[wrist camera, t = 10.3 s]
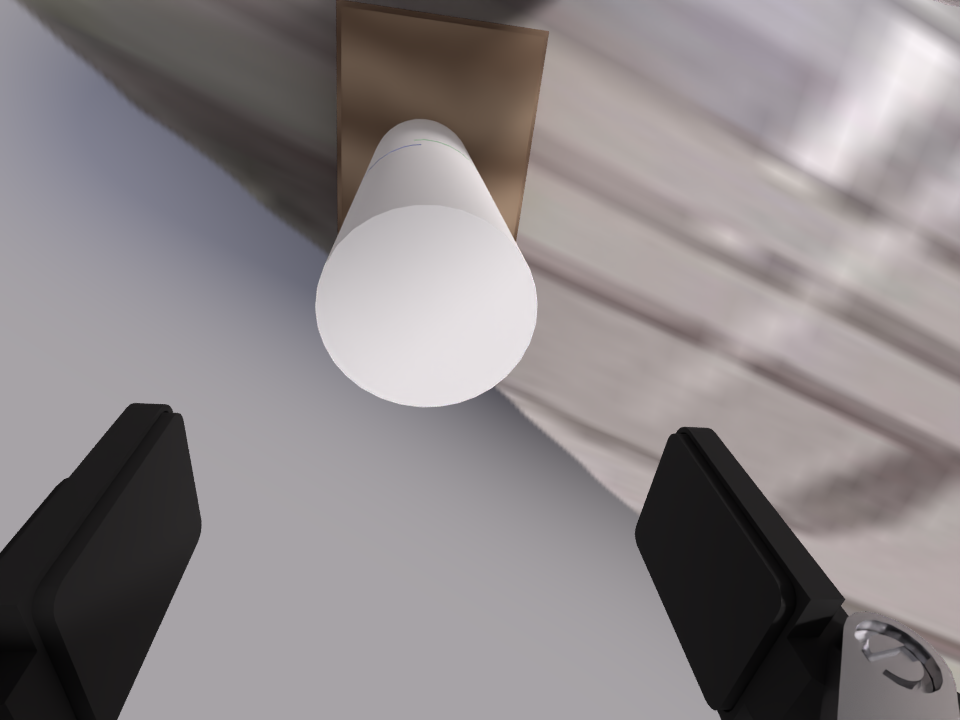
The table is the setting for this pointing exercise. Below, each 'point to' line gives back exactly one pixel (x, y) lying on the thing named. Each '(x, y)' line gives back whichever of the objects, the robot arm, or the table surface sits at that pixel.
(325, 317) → the cylindrical container
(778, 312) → the table surface
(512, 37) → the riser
